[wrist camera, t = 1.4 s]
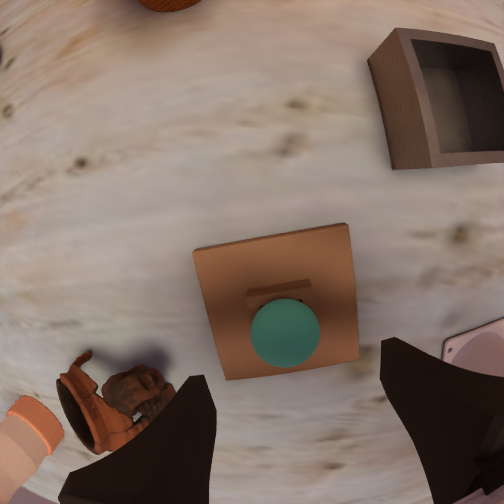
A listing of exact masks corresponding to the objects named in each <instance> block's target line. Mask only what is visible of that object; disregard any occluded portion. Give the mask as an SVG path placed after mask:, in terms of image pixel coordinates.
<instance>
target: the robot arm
mask: <svg viewBox="0 0 504 504" xmlns="http://www.w3.org/2000/svg"><path fill="white" fill-rule="evenodd" d="M449 348H450V349H449ZM448 349H449V350H448ZM380 380H381V383H382V385H383V388H384V390H385V393H386V395H387V397H388V399H389V401H390V403H391V404H392V406H393V408H394V409H395V411H396V413H397V414H398V416H399V418H400V419H401V421H402V423H403V424H404V426H405V428H406V429H407V431H408V433H409V435H410V437H411V439H412V441H413V443H414V445H415V447H416V450H417V452H418V455H419V457H420V460H421V463H422V466H423V468H424V471H425V474H426V477H427V480H428V484H429V487H430V490H431V494H432V498H433V502H434V504H504V318H503V319H500V320H498V321H495V322H493V323H490V324H488V325H485V326H483V327H480V328H478V329H475V330H472V331H470V332H467V333H464V334H461V335H459V336H456V337H453V338H450V339H448V340H447V341H446V342H445V344H444V351H443V359H442V360H440V359H438V358H436V357H433V356H431V355H429V354H427V353H425V352H423V351H421V350H419V349H417V348H415V347H414V346H412V345H410V344H408V343H406V342H404V341H402V340H400V339H398V338H396V337H392V338H389V339H385V340H382V341H381V366H380ZM216 425H217V410H216V408H215V405H214V402H213V399H212V397H211V394H210V391H209V388H208V385H207V382H206V379H205V377H204V375H197V376H189V377H188V379H187V380H186V381H185V382H184V384H183V385H182V386H181V388H180V389H179V390H178V391H177V393H176V394H175V395H174V397H173V398H172V399H171V400H170V401H169V403H168V404H167V405H166V406H165V408H164V409H163V410H162V411H161V412H160V413H159V414H158V415H157V416H156V417H155V418H154V420H153V421H152V422H151V423H150V424H149V425H148V426H147V427H145V428H144V429H143V430H142V431H141V432H140V433H139V434H138V435H136V436H135V437H134V438H133V439H131V440H130V441H129V442H127V443H126V444H124V445H123V446H122V447H120V448H119V449H117V450H116V451H114V452H113V453H111V454H109V455H108V456H106V457H104V458H102V459H100V460H98V461H96V462H94V463H92V464H90V465H88V466H85V467H83V468H80V469H78V470H76V471H73V472H70V473H69V475H68V477H67V479H66V481H65V483H64V485H63V487H62V490H61V492H60V494H59V496H58V500H59V502H60V504H209V480H210V471H211V464H212V457H213V451H214V444H215V437H216Z"/></svg>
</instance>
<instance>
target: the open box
mask: <svg viewBox="0 0 504 504" xmlns="http://www.w3.org/2000/svg"><path fill="white" fill-rule="evenodd" d="M367 61H368V65H369V68H370V71H371V75H372V78H373V82H374V86H375V90H376V93H377V97H378V101H379V105H380V109H381V114H382V118H383V123H384V127H385V132H386V137H387V142H388V147H389V152H390V158H391V164H392V170H402V169H420V168H437V167H448V166H460V165H473V164H487V163H504V70H503V67H502V64H501V61H500V58H499V55H498V52H497V49H496V47H495V44H494V43H490V42H486V41H482V40H478V39H473V38H468V37H463V36H458V35H453V34H447V33H440V32H433V31H426V30H417V29H407V28H395V29H394V30H393V31H392V32H391V33H390V34H389V36H388V37H387V38H386V39H385V40H384V41H383V42H382V44H381V45H380V46H379V47H378V48H377V49H376V51H375V52H374V53H373V54H372V55H371V56H370V58H369V59H368V60H367Z"/></svg>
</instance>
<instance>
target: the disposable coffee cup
mask: <svg viewBox="0 0 504 504" xmlns="http://www.w3.org/2000/svg"><path fill="white" fill-rule="evenodd" d="M139 1H140V2H141V3H142V4H143V5H144V6H146V7H147V8H148V9H151V10H154V11H158V12H171V11H176V10H180V9H184V8H187V7H189V6H192V5H193V4H195V3H197V2H199V1H200V0H139Z"/></svg>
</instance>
